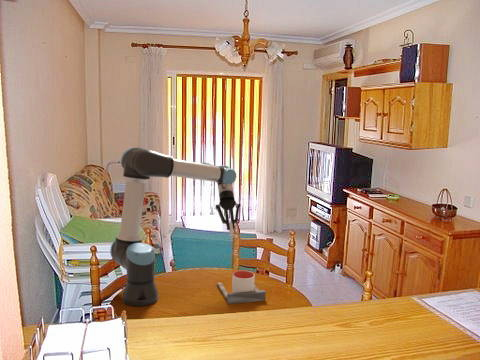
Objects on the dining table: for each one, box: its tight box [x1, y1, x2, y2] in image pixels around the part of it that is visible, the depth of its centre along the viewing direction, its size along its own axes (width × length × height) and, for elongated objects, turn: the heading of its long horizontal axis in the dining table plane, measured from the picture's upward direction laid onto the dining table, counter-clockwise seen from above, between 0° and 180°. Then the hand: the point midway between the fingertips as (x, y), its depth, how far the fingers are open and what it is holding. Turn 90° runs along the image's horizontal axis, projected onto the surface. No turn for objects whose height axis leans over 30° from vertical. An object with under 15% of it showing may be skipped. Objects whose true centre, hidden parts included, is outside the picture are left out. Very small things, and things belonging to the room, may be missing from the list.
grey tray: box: [216, 282, 267, 305], centre depth 190 cm, size 20×17×4 cm
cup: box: [231, 270, 256, 293], centre depth 187 cm, size 10×10×10 cm
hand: (232, 235), depth 199 cm, fingers closed
